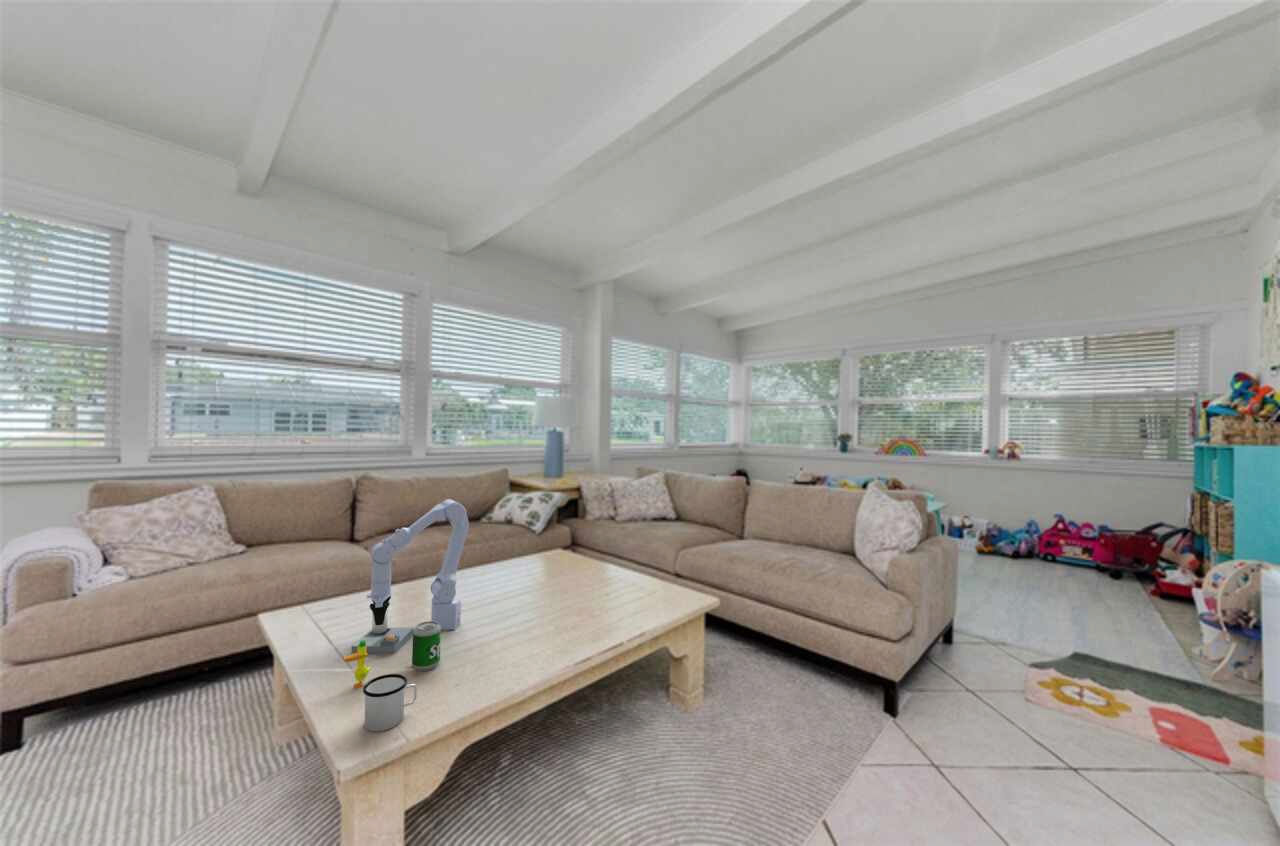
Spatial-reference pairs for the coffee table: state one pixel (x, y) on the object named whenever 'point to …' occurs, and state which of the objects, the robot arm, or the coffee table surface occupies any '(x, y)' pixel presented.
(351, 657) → the toy figure
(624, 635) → the coffee table surface
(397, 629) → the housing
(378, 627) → the cylinder
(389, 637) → the plunger
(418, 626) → the soda can
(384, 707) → the mug
